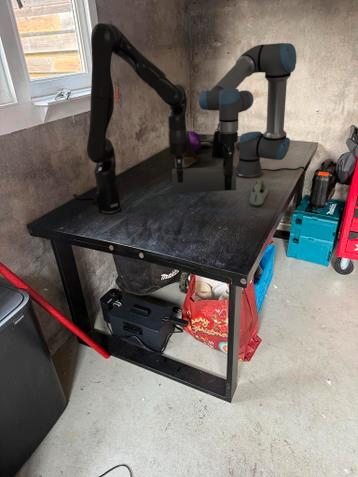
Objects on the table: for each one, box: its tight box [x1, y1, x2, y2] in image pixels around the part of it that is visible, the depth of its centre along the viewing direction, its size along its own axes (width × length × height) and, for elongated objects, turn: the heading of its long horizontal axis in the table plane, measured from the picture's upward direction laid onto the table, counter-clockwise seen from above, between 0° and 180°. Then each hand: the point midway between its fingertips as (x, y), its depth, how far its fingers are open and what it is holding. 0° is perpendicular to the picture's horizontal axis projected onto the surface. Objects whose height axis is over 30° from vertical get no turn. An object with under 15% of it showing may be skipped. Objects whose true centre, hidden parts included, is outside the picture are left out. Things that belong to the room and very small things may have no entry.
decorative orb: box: [187, 130, 202, 153], centre depth 230 cm, size 15×15×15 cm
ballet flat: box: [249, 179, 269, 207], centre depth 158 cm, size 8×24×8 cm, turn 163°
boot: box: [182, 130, 198, 169], centre depth 209 cm, size 9×24×20 cm, turn 168°
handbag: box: [211, 126, 236, 159], centre depth 219 cm, size 21×9×25 cm, turn 148°
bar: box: [171, 165, 237, 194], centre depth 140 cm, size 27×5×9 cm, turn 90°
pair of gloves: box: [199, 133, 214, 149], centre depth 252 cm, size 30×26×5 cm
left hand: (180, 178), depth 139 cm, fingers open, 8 cm apart
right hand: (227, 187), depth 141 cm, fingers closed on bar, 5 cm apart
